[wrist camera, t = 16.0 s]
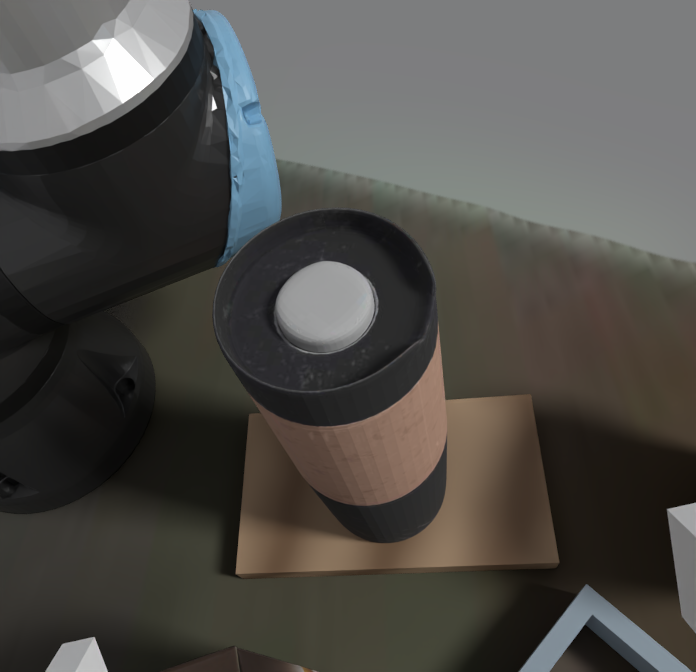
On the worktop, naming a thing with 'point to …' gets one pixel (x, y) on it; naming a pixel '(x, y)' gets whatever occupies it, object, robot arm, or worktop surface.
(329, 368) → the travel mug
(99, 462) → the robot arm
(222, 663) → the coffee box
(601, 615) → the holder frame
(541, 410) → the worktop surface
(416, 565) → the walnut board
